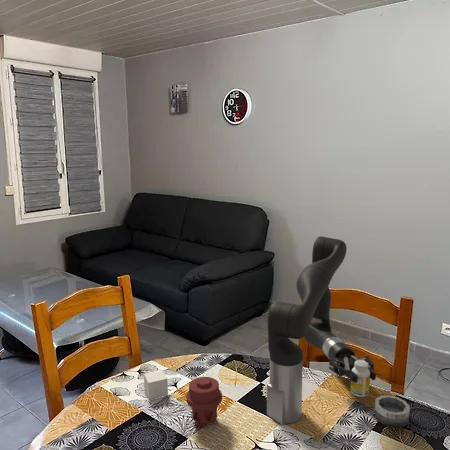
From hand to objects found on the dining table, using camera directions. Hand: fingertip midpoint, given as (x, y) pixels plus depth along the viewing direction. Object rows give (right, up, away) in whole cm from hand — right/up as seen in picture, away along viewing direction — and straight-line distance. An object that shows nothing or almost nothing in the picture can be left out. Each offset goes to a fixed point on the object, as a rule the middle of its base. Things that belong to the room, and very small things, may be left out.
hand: (365, 378), depth 124 cm
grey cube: (-63, -8, +9) cm, 64 cm away
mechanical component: (-47, -10, -5) cm, 49 cm away
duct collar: (+6, -9, -5) cm, 12 cm away
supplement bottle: (-1, -6, +4) cm, 7 cm away
